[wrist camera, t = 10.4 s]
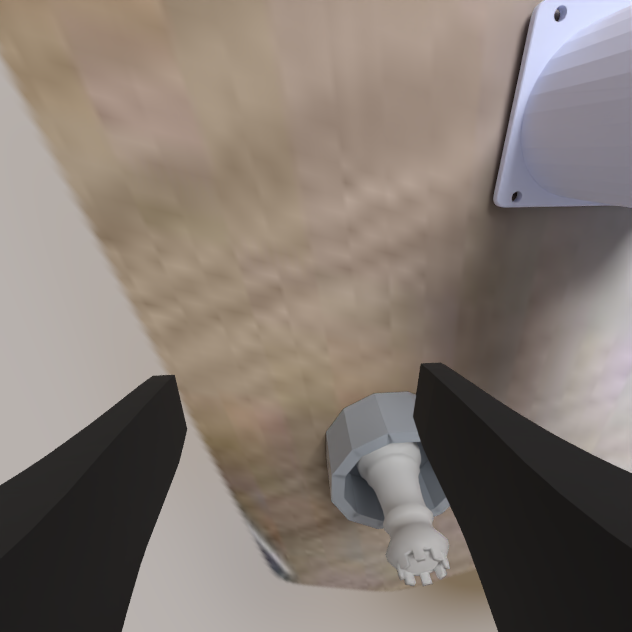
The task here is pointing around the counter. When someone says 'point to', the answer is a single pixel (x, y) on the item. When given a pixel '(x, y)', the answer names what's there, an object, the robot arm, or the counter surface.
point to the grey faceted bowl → (365, 437)
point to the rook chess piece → (405, 512)
